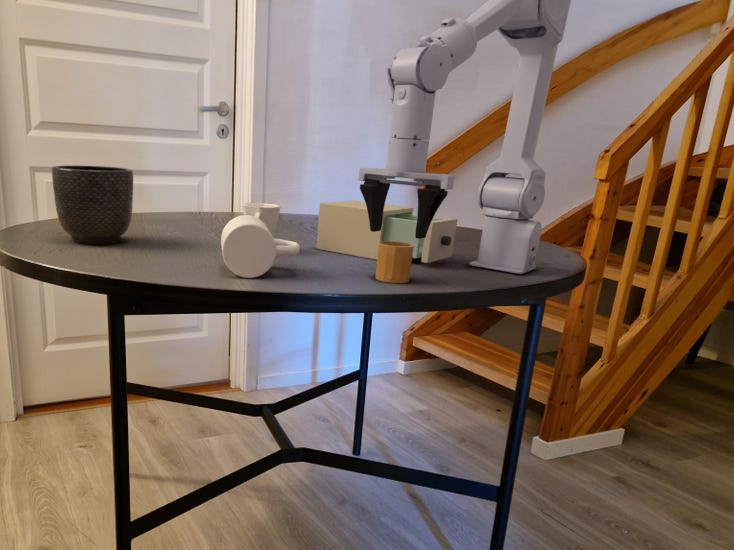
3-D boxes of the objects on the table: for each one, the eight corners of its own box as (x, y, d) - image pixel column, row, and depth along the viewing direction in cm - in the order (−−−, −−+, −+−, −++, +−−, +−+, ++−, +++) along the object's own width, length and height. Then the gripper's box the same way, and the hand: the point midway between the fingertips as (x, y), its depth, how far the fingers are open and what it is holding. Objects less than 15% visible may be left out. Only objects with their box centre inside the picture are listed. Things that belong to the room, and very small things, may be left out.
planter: (143, 237, 120) (142, 168, 115) (121, 250, 107) (118, 172, 102) (74, 233, 121) (70, 164, 116) (43, 244, 107) (37, 167, 103)
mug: (221, 277, 91) (222, 222, 88) (220, 263, 100) (221, 213, 97) (301, 280, 92) (305, 225, 89) (293, 266, 101) (296, 217, 98)
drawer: (458, 257, 113) (464, 219, 110) (433, 264, 105) (439, 223, 103) (391, 246, 120) (395, 210, 118) (364, 251, 113) (368, 214, 110)
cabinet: (407, 253, 119) (413, 207, 116) (378, 260, 111) (383, 211, 108) (348, 243, 127) (352, 200, 124) (316, 248, 118) (319, 203, 116)
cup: (279, 247, 118) (282, 204, 115) (273, 256, 108) (276, 210, 105) (243, 244, 118) (245, 201, 115) (234, 253, 109) (236, 207, 106)
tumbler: (415, 280, 96) (419, 244, 94) (399, 284, 92) (403, 248, 90) (385, 274, 99) (389, 239, 97) (368, 278, 95) (372, 243, 93)
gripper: (351, 136, 90) (342, 230, 94) (444, 141, 81) (430, 243, 86) (375, 137, 95) (366, 226, 100) (465, 142, 87) (450, 239, 91)
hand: (397, 234), depth 93 cm, fingers open, 7 cm apart
